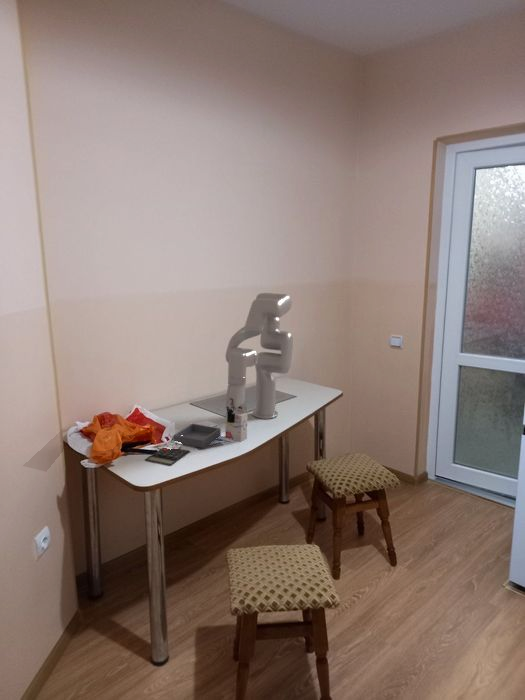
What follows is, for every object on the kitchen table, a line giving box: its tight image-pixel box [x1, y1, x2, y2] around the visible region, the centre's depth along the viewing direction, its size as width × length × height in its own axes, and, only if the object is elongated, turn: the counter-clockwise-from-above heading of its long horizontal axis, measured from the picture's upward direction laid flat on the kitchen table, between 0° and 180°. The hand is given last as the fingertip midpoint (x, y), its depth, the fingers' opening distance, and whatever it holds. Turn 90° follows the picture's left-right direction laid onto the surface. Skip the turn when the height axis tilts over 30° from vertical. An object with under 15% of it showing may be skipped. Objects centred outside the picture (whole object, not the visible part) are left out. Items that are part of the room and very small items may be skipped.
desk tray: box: [172, 423, 222, 450], centre depth 216 cm, size 16×14×4 cm
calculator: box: [144, 447, 191, 467], centre depth 199 cm, size 12×1×15 cm
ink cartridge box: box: [224, 405, 249, 442], centre depth 218 cm, size 9×5×15 cm, turn 58°
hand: (235, 419), depth 218 cm, fingers open, 9 cm apart
